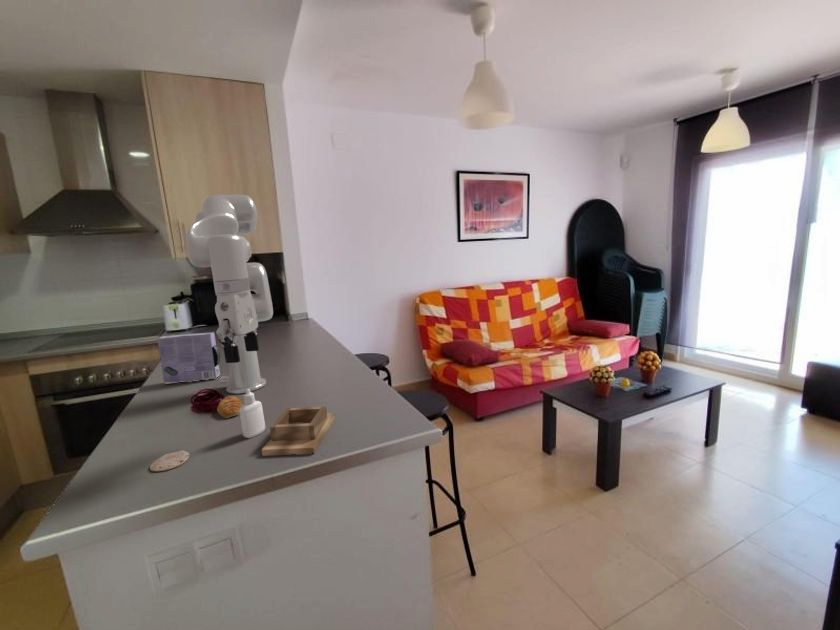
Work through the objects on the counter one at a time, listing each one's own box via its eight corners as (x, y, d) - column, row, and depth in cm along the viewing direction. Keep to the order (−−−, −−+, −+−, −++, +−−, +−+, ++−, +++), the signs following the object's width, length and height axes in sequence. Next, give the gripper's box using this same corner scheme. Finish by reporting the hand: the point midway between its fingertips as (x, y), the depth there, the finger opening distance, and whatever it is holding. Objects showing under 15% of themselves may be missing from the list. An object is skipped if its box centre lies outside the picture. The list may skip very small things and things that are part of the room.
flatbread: (178, 471, 84) (177, 467, 84) (142, 475, 83) (141, 470, 83) (196, 451, 92) (196, 447, 92) (163, 454, 91) (163, 451, 91)
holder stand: (262, 455, 87) (259, 435, 86) (291, 419, 105) (289, 402, 104) (314, 453, 87) (311, 433, 86) (334, 417, 104) (332, 400, 103)
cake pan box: (224, 375, 148) (216, 330, 145) (219, 379, 143) (211, 333, 140) (170, 381, 145) (161, 335, 142) (163, 385, 140) (154, 339, 137)
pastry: (246, 415, 110) (243, 402, 110) (220, 422, 107) (217, 409, 106) (241, 404, 118) (239, 393, 118) (217, 411, 115) (214, 399, 114)
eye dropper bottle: (268, 432, 98) (261, 388, 96) (245, 440, 95) (237, 394, 93) (263, 426, 102) (257, 383, 100) (241, 434, 99) (233, 389, 96)
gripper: (228, 290, 83) (240, 366, 86) (263, 282, 100) (272, 346, 103) (195, 293, 83) (208, 368, 86) (235, 284, 100) (245, 347, 103)
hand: (243, 356), depth 95 cm, fingers open, 9 cm apart
